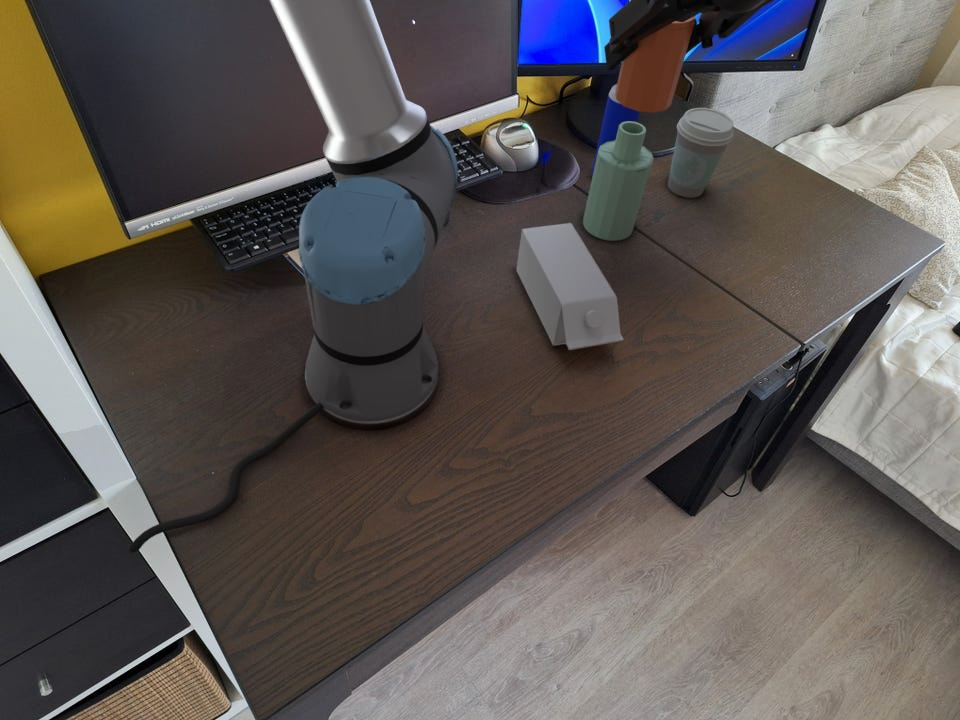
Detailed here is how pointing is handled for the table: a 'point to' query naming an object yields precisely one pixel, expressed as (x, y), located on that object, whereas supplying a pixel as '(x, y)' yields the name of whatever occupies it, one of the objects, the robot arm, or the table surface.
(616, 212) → the bottle
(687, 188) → the coffee cup
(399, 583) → the table surface
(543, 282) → the juice carton
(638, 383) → the table surface
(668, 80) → the cylinder
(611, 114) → the beverage can
